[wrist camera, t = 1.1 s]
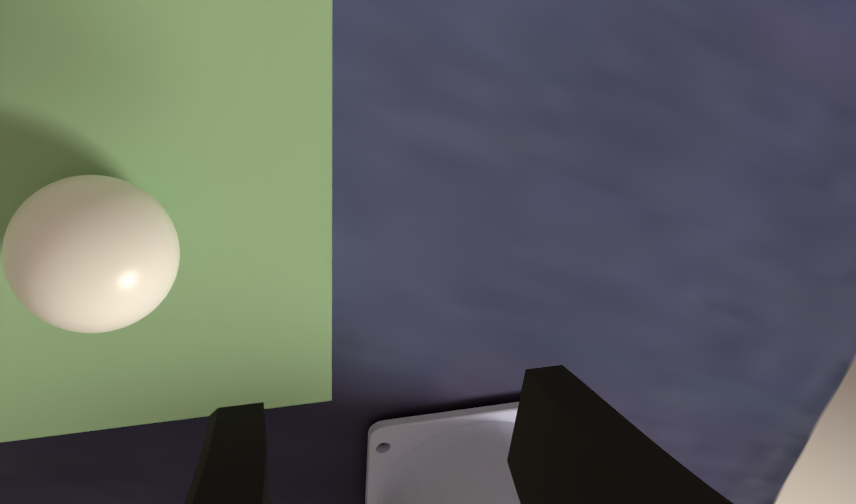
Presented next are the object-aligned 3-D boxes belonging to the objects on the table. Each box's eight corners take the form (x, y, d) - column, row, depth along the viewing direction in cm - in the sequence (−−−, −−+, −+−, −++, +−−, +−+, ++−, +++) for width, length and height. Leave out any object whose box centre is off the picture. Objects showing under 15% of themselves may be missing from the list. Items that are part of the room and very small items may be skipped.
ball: (191, 270, 16) (184, 357, 13) (44, 281, 15) (6, 375, 12) (174, 147, 14) (163, 218, 12) (8, 151, 13) (-46, 229, 11)
